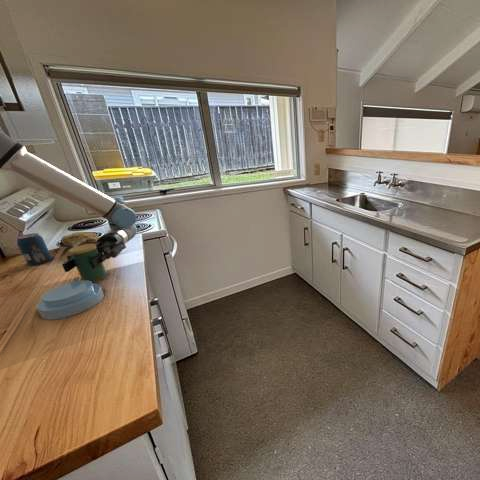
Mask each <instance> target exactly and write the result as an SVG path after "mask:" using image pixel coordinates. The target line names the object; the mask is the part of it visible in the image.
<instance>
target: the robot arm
mask: <svg viewBox="0 0 480 480" xmlns="http://www.w3.org/2000/svg"><path fill="white" fill-rule="evenodd" d="M0 172H10V173H11V174H14V175H16V176H18V177H19V178H22V179H23V180H26V181H28V182H30V183H31V184H34V185H36V186H38V187H40V188H42V189H44V190H46V191H48V192H50V193H53V194H55V195H57V196H58V197H61V198H62V199H64V200H66V201H69V202H71V203H73V204H75V205H77V206H79V207H81V208H83V209H85V210H87V211H90V212H91V213H94V214H95V215H97V216H99V217H101V218H104V219H105V220H107V223H108V226H109V230H108V231H107V232H105V233H104V234H102V235H101V236H99V238H98V240H97V243H96V246H97V250H98V253H99V254H98V255H97V256H95V257H94V258H93V259H92V260H90V261H89V262H90V264H91V267H92V269H94V268H96V267H97V266H98V265H100V264H101V263H104V262H105V261H106V260H109V259H110V258H114V259H115V258H117V257H118V256H119V255H120V254H121V252H122V251H123V250H125V249H127V246H126V244H127V243H128V242H130V241H131V240H132V239H134V238H135V236H136V235H137V233H138V227H137V226H136V222H137V220H138V215H137V213H136V212H135V211H134V209H132V208H130V207H128V206H127V205H126V201H125V200H124V198H123V197H122V196H120V195H119V196H118V195H117V196H116V195H115V196H108V195H107V194H105V193H102V192H101V191H100V190H98V189H95V188H94V187H92V186H90V185H88V183H87V184H86V183H85V182H83V181H82V180H80V179H79V178H78V179H77V178H76V177H74V176H72V175H71V174H69V173H67V172H65V171H63V170H61V169H60V168H58V167H56V166H54V165H52V164H50V163H49V162H47V161H45V160H43V159H41V158H40V157H38V156H36V155H35V154H32V153H31V152H29V151H27V148H26V146H25V145H23V144H22V143H20V142H18V141H17V140H15V139H13V138H12V137H10V136H9V135H7V134H6V133H5V131H3V130H2V129H1V128H0ZM66 259H67V260H66V261H65V262H63V263H61V266H62V268H63V270H64V272H65V273H68V272H70V271H72V270H74V268H76V265H75V263H74V261H73V258H72V256H71V254H70V253H69V254H68V255H66Z"/></svg>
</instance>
